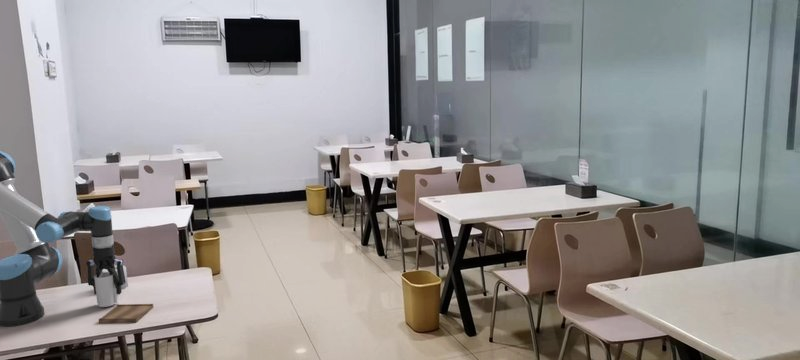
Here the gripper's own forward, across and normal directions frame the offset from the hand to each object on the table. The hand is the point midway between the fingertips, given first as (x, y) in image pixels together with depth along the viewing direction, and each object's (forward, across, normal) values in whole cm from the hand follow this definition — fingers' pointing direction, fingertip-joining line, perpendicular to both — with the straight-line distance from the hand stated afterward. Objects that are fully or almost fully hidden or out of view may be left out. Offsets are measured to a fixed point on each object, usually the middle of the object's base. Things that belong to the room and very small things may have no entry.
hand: (108, 301), depth 231 cm
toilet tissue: (+2, -7, +21) cm, 22 cm away
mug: (+1, 0, 0) cm, 1 cm away
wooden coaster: (+1, +13, -11) cm, 17 cm away
